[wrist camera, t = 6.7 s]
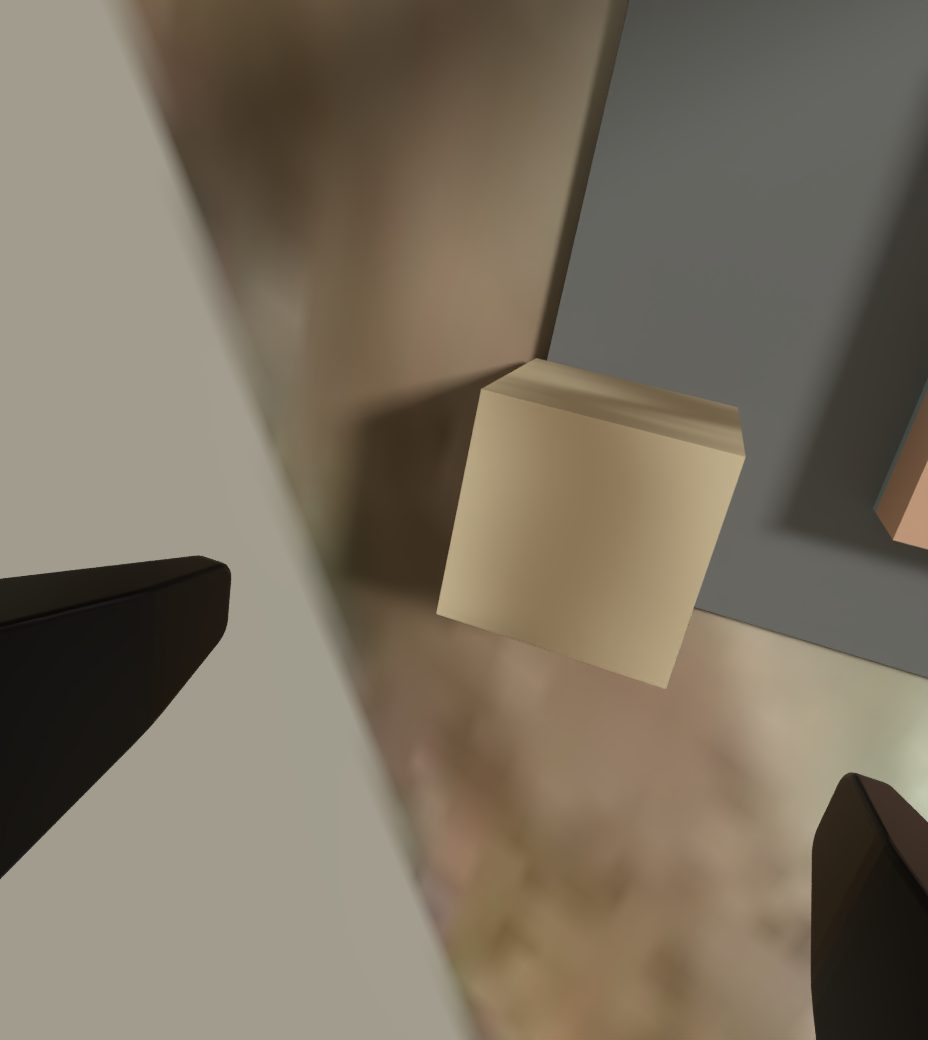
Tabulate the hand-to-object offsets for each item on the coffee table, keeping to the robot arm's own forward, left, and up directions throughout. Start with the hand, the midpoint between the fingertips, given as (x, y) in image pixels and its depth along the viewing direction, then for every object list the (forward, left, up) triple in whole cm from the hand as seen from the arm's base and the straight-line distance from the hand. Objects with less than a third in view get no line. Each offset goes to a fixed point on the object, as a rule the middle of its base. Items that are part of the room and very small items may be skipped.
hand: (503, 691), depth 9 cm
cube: (0, 0, -10) cm, 10 cm away
